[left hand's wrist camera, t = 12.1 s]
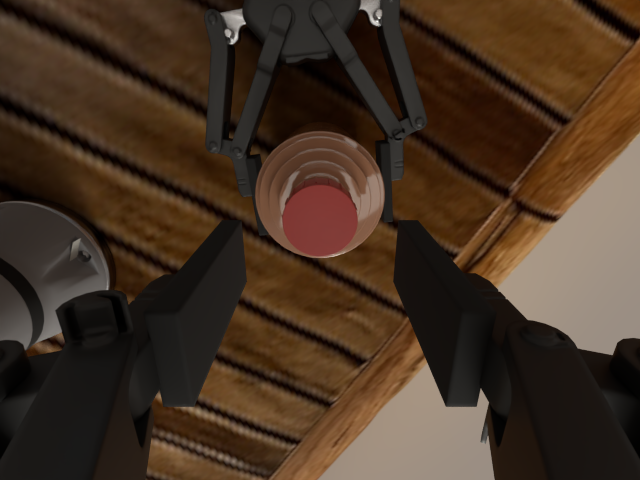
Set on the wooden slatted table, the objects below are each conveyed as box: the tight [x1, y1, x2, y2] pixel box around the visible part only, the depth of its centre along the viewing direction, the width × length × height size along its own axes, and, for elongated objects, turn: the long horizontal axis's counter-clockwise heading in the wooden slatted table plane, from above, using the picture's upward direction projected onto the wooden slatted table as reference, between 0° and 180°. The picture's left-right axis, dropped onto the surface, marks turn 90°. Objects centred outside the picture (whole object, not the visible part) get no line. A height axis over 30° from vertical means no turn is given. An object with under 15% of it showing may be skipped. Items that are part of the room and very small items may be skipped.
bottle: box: [255, 122, 385, 258], centre depth 27 cm, size 8×8×18 cm
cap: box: [282, 177, 358, 256], centre depth 19 cm, size 4×4×2 cm
